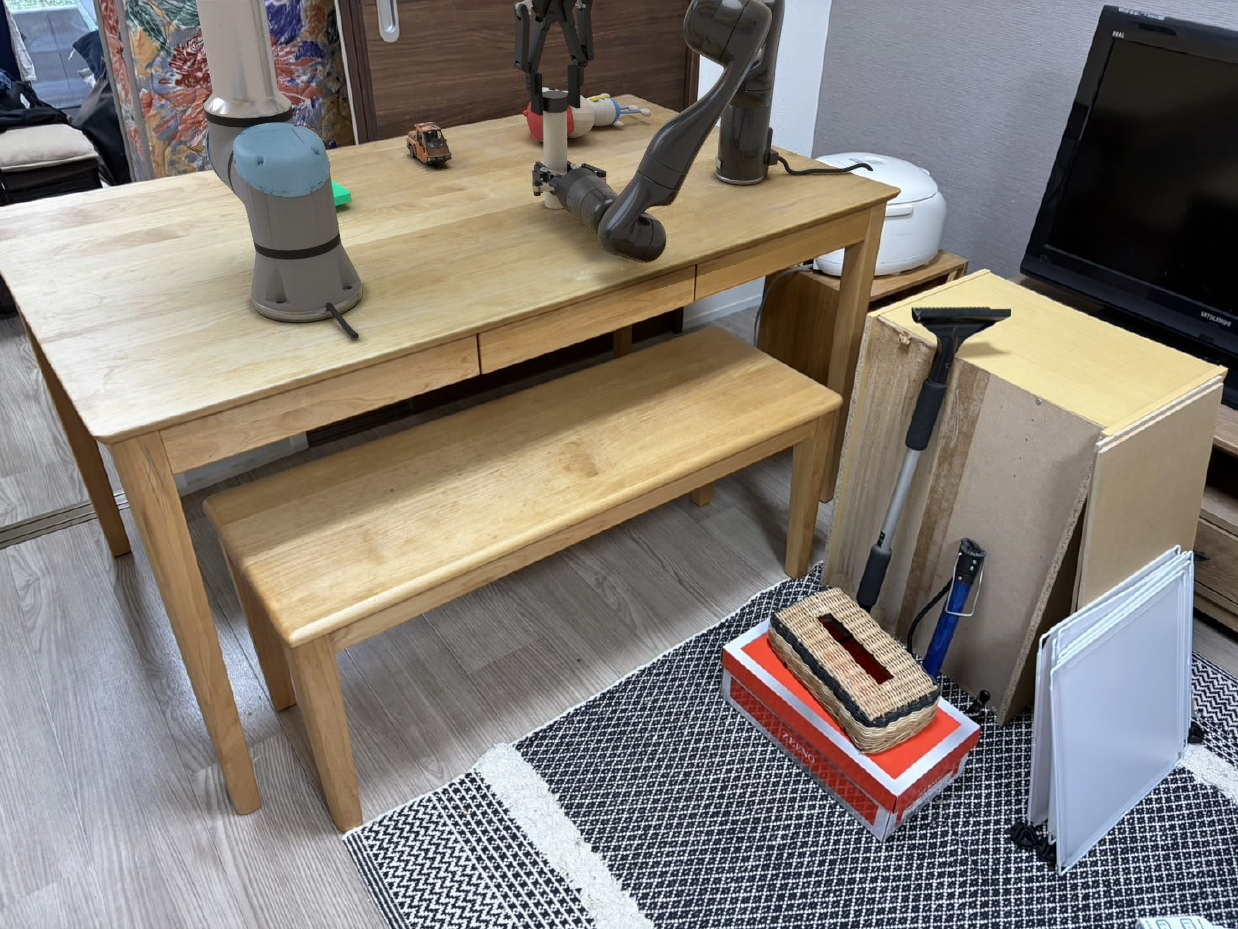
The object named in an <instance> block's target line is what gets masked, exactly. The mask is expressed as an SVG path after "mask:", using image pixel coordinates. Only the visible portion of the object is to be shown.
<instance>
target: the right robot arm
mask: <svg viewBox="0 0 1238 929" xmlns="http://www.w3.org/2000/svg"><path fill="white" fill-rule="evenodd" d="M785 10H786V0H691V2H690V4H689V5H688V8H687V10H686V13H685V15H684V20H683V25H682V36H683V37H682V38H683V41H684V43H685V45H686V46H687V47H688V48H689V49H690V50H692V51H693V52H695V53H696V54H698V55H700V56H702V57H704V58H705V59H707V60H709V61H711V62H713V63H714V64H717V65H719V66H721V67H722V68H723V71H722V72H721V74H720V76H719V77H718V78H717V80H716V82H715V83H714V85H713V86H712V87H711V88H710V89H709V90H708V91H707V92H706V93H705V94H704V95H703V96H701V97H700V98H699V99H698V100H697V101H695V102H694V103H693V104H691V105H690V106H688V107H687V108H685V109H684V110H682V111H681V112H679V113H678V114H676V115H675V116H673V117H672V118H671V119H669V120H668V121H666V122H665V123H664V124H663V125H662V126H661V127H660V128H659V129H658V130H657V131H656V132H655V133H654V135H653V136H652V138H651V140H650V141H649V143H648V145H647V147H646V148H645V149H646V150H645V151H644V152H643V153H644V154H643V156H642V158H641V160H640V162H639V164H638V166H637V169H636V170H635V173H634V176H633V177H632V178H631V180H630V181H629V182H628V183H627V185H626V186H625V187H624V188H623V189H622V191H621V192H620V193H619V194H618V193H617V192H616V191H614V190H613V188H612V187H611V185H610V184H608V182H607V171H606V170H604V169H601V168H599V167H596V166H594V165H591V164H589V163H585V162H584V163H581V164H580V165H578V164H577V163H575V162H572V161H570V160H568V159H567V173H566V172H561V171H559V170H556V169H548V168H547V167H546V166H545V165H544V163H543V162H541V161H535V164H533V169H532V170H531V176H532V179H531V180H532V181H531V185H532V191H533V196H534V197H540V196H542V194H544V193H545V191H549V192H550V193H551V194H552V195H555V196H557V198H558V199H559V201H560V203H561V205H562V206H563V207H564V208H563V209H565V210H566V211H567V212H568V213H570V215H572V216H573V217H574V218H575V219H576V220H577V221H578V222H579V223H580V224H582V225H584V226H586V227H587V228H588V229H589V230H591V231H592V232H593V233H594V234H595V235H596V236H597V242H598V244H599V246H600V248H601V249H602V251H603V252H605V253H607V254H609V255H613V256H615V257H620V258H623V259H626V260H629V261H633V262H637V263H640V264H649V263H652V262H654V261H657V260H658V259H659V258H660V257H661V256H662V255H663V253H664V252H665V249H666V247H667V232H666V229H665V227H664V225H663V224H662V222H661V221H660V220H659V219H658V218H656V217H655V216H654V215H652V214H650V213H649V212H646V211H647V210H648V209H650V208H653V207H658V208H659V207H660V208H662V207H670V206H672V204H674V202H675V200H676V199H677V197H678V195H679V194H680V191H681V189H682V187H683V185H684V183H685V181H686V178H687V177H688V175H689V173H690V170H691V169H692V166H693V164H694V163H695V161H696V159H697V157H698V155H699V153H700V151H701V150H702V147H703V146H704V144H705V142H706V141H707V139H708V138H709V136H710V135H711V133H712V131H713V130H714V128H715V126H717V124H718V122H719V132H718V143H717V154H716V156H715V157H714V165H715V172H714V176H715V178H717V180H719V181H722V182H724V183H727V184H732V185H739V186H740V185H743V186H745V185H746V186H747V185H753V184H758V183H760V182H762V181H763V180H766V179H768V175H769V168H770V167H771V166H777V165H778V162H780V163H781V164H782V165H783V167H784V170H785V171H786V173H787V174H789V175H791V176H803V175H809V174H843V173H848V172H852V171H855V170H857V169H860V168H861V169H862V168H863V169H866V170H867V171H868V172H874V168H873V167H872V166H871V165H870V164H868V163H866V162H859V163H855V164H853V165H850V166H847V167H841V168H808V169H803V170H794V169H791V168H790V166H789V162H788V161H787V160H786V159H785V158H784V157H783V156H781V155H780V153H779V152H778V151H776V150H774V149H773V148H772V145H773V144H772V143H773V135H774V129H773V127H771V126H770V123H771V115H772V106H773V99H774V98H773V97H774V88H775V82H776V81H775V80H776V71H777V63H778V62H777V61H778V54H779V48H780V42H781V36H782V32H783V31H782V30H783V25H784V19H785Z"/></svg>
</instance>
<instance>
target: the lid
mask: <svg viewBox="0 0 1238 929" xmlns="http://www.w3.org/2000/svg"><path fill="white" fill-rule="evenodd" d="M563 91H564V90H559V91H545V92H543V111H547V112H564V111H566V110H568V93H566V92H563Z"/></svg>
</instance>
